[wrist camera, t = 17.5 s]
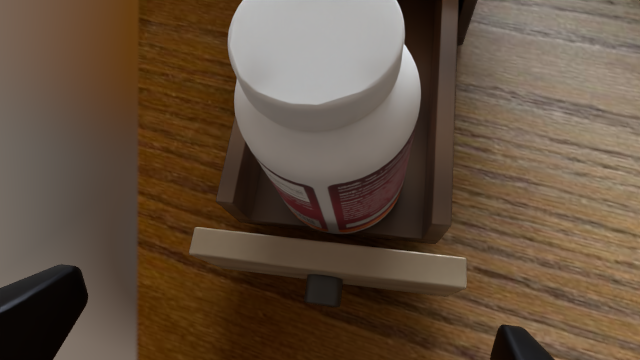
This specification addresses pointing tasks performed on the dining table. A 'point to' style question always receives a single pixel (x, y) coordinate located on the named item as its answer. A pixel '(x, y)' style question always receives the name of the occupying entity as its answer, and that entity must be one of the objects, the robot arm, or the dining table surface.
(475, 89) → the dining table surface
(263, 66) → the pill bottle
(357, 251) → the drawer
